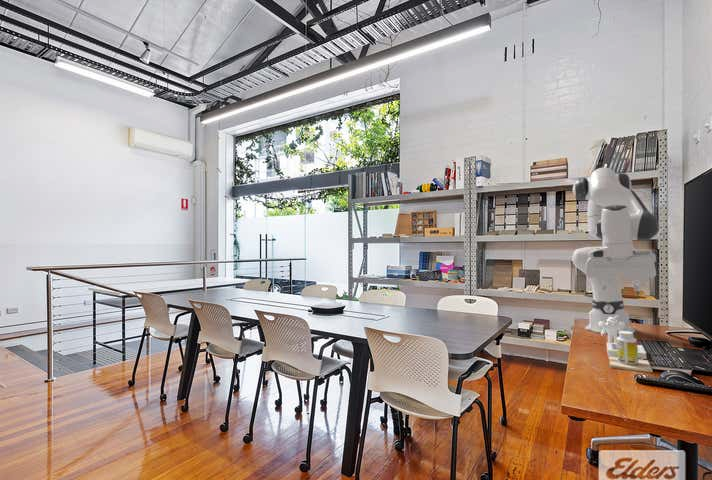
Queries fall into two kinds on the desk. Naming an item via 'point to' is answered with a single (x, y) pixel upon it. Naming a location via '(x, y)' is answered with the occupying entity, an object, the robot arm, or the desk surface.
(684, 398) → the desk surface
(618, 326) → the hat wearing toy figure
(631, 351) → the supplement bottle
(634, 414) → the desk surface
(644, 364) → the birch board
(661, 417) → the desk surface
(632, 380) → the desk surface
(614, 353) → the white rectangular frame
